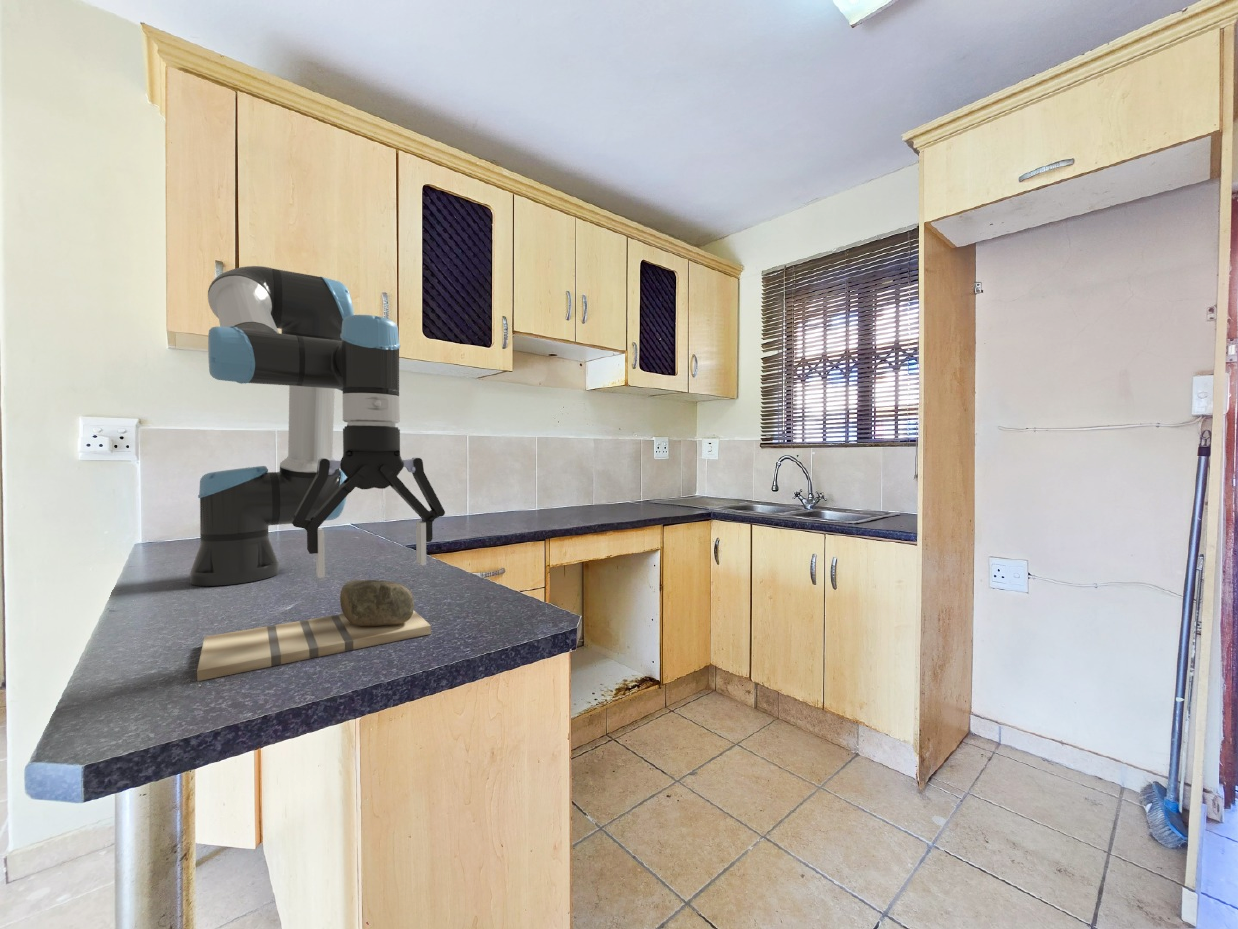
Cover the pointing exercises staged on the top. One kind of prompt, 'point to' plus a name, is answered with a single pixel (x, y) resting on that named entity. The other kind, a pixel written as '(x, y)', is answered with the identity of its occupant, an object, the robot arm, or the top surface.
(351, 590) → the stone
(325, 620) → the board
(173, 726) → the top surface
